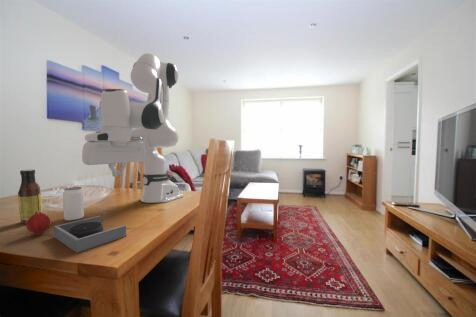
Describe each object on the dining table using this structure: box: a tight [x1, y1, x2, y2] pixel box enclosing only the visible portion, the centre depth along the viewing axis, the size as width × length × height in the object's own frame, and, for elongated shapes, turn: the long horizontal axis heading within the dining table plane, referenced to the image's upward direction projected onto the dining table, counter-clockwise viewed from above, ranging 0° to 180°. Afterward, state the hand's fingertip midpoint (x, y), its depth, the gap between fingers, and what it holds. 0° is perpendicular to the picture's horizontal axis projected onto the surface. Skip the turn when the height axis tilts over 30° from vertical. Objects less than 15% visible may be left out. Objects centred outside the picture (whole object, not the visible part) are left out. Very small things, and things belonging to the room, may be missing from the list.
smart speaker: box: [69, 222, 104, 239], centre depth 69 cm, size 9×9×4 cm
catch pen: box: [53, 214, 127, 254], centre depth 70 cm, size 14×18×4 cm
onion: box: [25, 211, 51, 236], centre depth 71 cm, size 6×6×8 cm
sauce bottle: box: [17, 168, 43, 225], centre depth 83 cm, size 7×6×20 cm
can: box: [62, 186, 85, 222], centre depth 87 cm, size 6×6×12 cm
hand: (117, 176), depth 77 cm, fingers closed
